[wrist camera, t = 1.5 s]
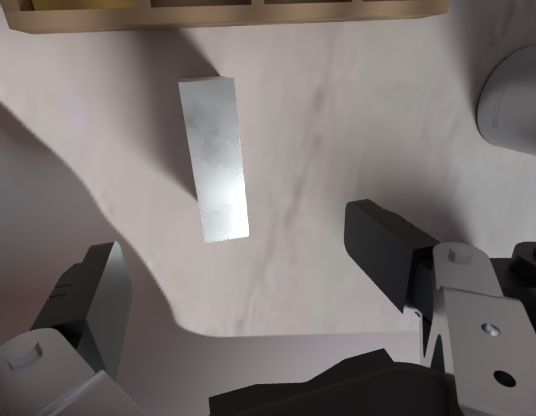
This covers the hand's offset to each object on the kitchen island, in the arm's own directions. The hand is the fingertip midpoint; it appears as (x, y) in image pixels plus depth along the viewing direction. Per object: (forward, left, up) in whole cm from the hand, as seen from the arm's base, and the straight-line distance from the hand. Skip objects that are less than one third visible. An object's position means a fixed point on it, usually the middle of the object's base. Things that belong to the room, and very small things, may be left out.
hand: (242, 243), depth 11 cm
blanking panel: (0, 0, -16) cm, 16 cm away
